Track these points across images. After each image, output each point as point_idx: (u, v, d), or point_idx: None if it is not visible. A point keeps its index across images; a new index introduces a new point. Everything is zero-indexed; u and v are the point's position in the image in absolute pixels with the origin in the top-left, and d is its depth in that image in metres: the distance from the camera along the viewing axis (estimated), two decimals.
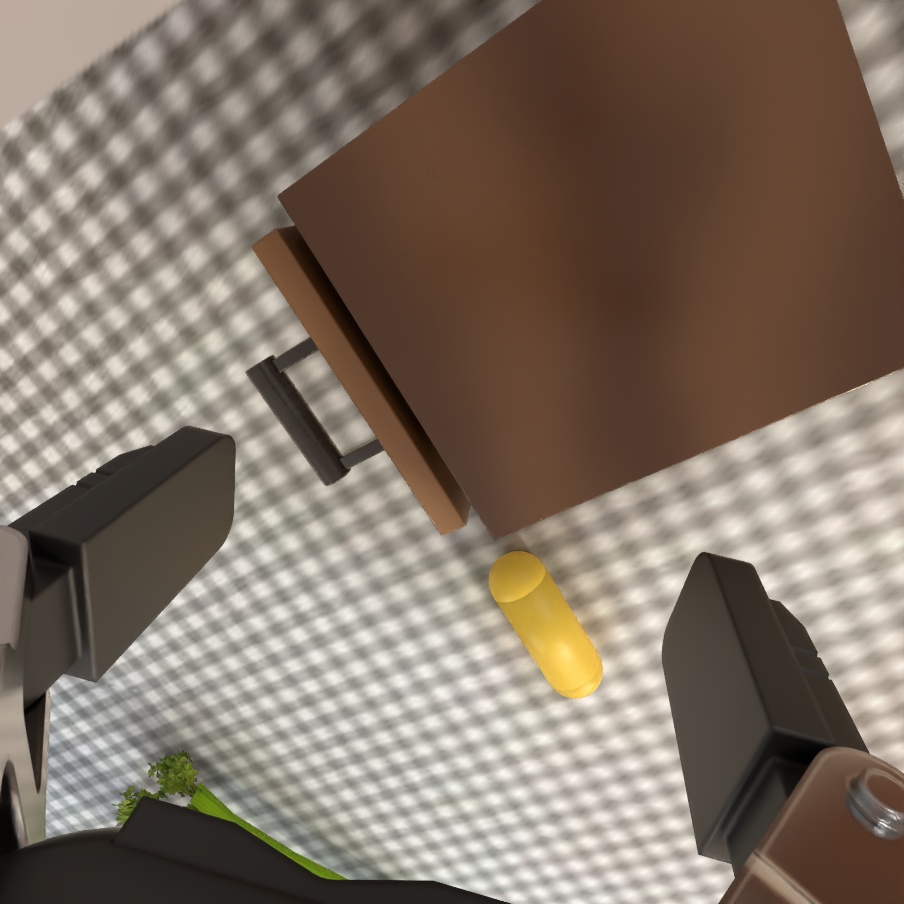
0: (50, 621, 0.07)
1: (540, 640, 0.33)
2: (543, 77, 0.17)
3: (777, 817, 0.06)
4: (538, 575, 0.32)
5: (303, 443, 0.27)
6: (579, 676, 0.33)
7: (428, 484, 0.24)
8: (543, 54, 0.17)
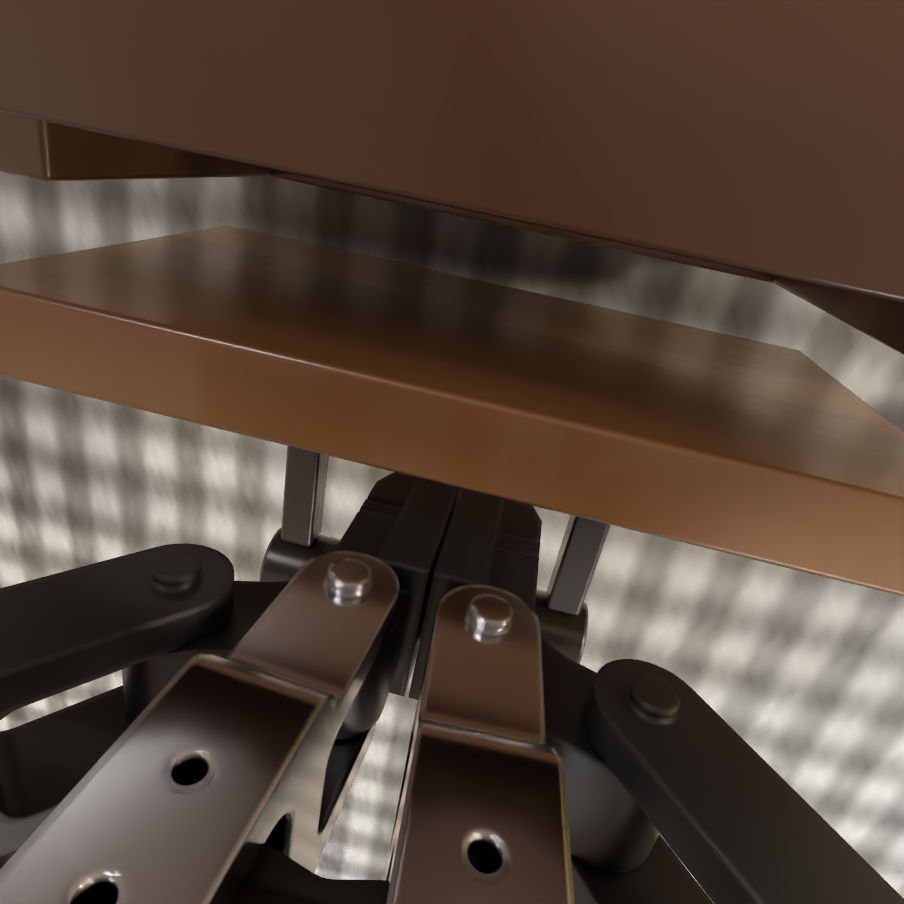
0: (397, 642, 0.08)
1: None
2: None
3: (426, 675, 0.06)
4: None
5: None
6: None
7: (804, 510, 0.07)
8: None
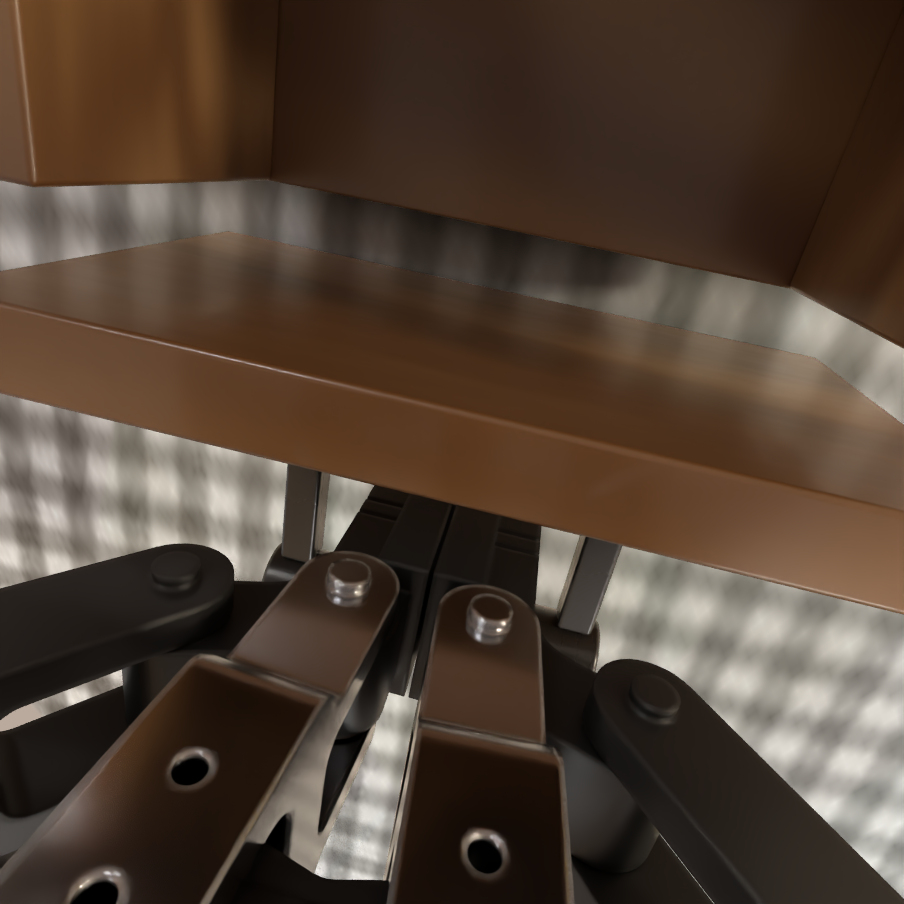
0: (397, 642, 0.08)
1: None
2: None
3: (426, 675, 0.06)
4: None
5: None
6: None
7: (836, 533, 0.07)
8: None
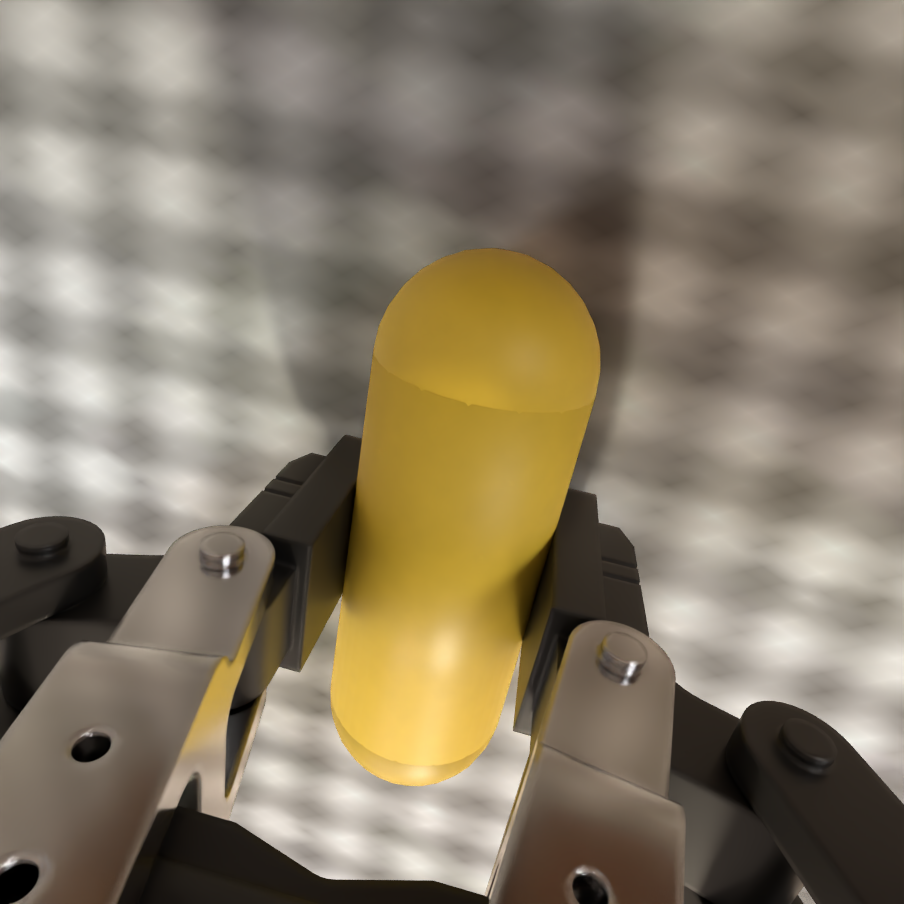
0: (281, 615, 0.08)
1: (444, 591, 0.09)
2: None
3: (550, 701, 0.06)
4: (596, 377, 0.08)
5: None
6: (456, 738, 0.10)
7: None
8: None
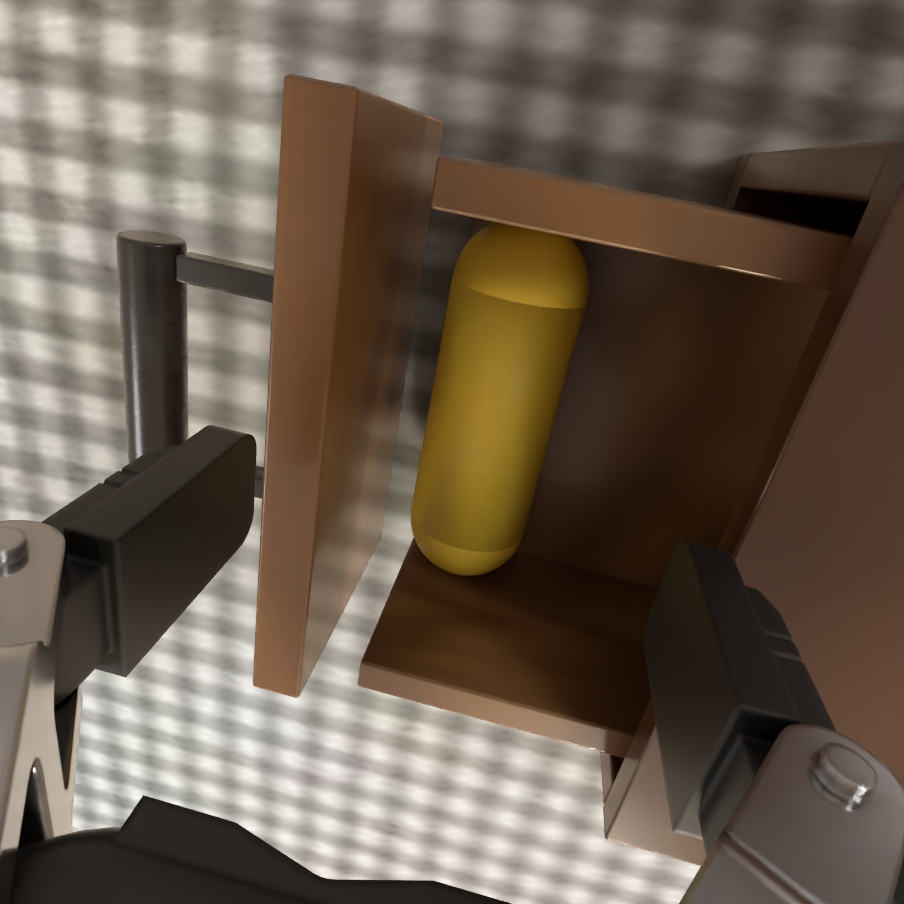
0: (84, 616, 0.07)
1: (493, 423, 0.14)
2: None
3: (744, 796, 0.06)
4: (585, 292, 0.14)
5: (137, 405, 0.15)
6: (497, 532, 0.16)
7: (288, 624, 0.14)
8: None
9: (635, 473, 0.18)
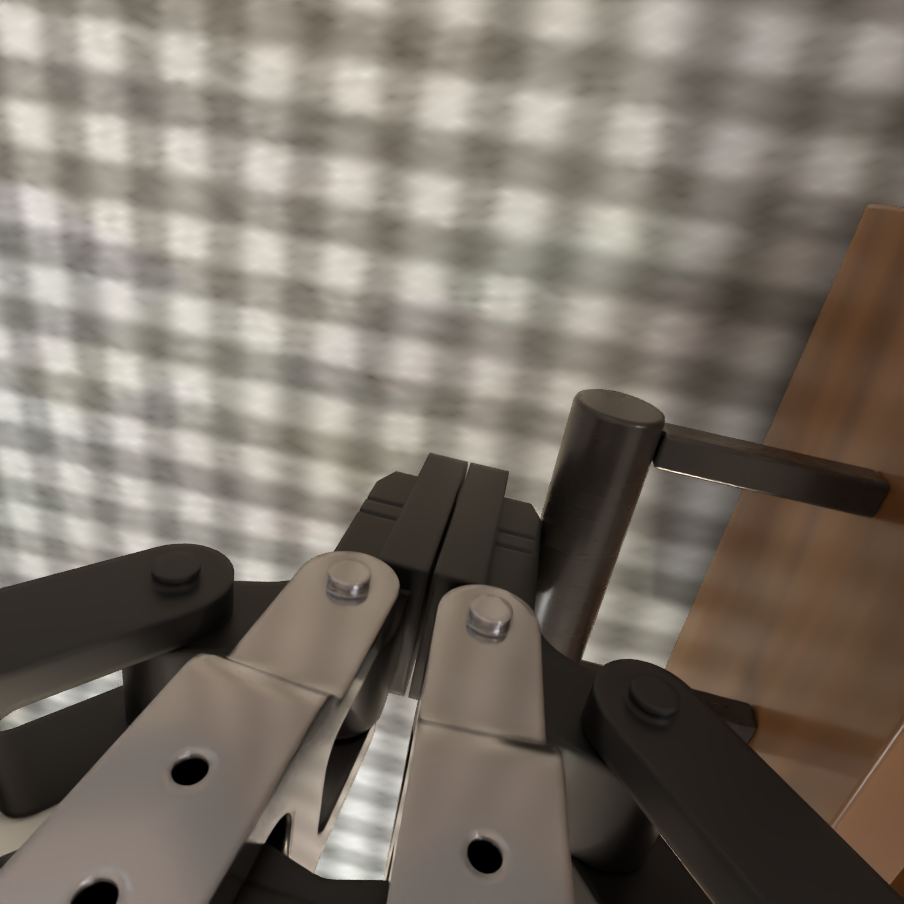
0: (397, 642, 0.08)
1: None
2: None
3: (426, 675, 0.06)
4: None
5: (554, 624, 0.11)
6: None
7: None
8: None
9: None
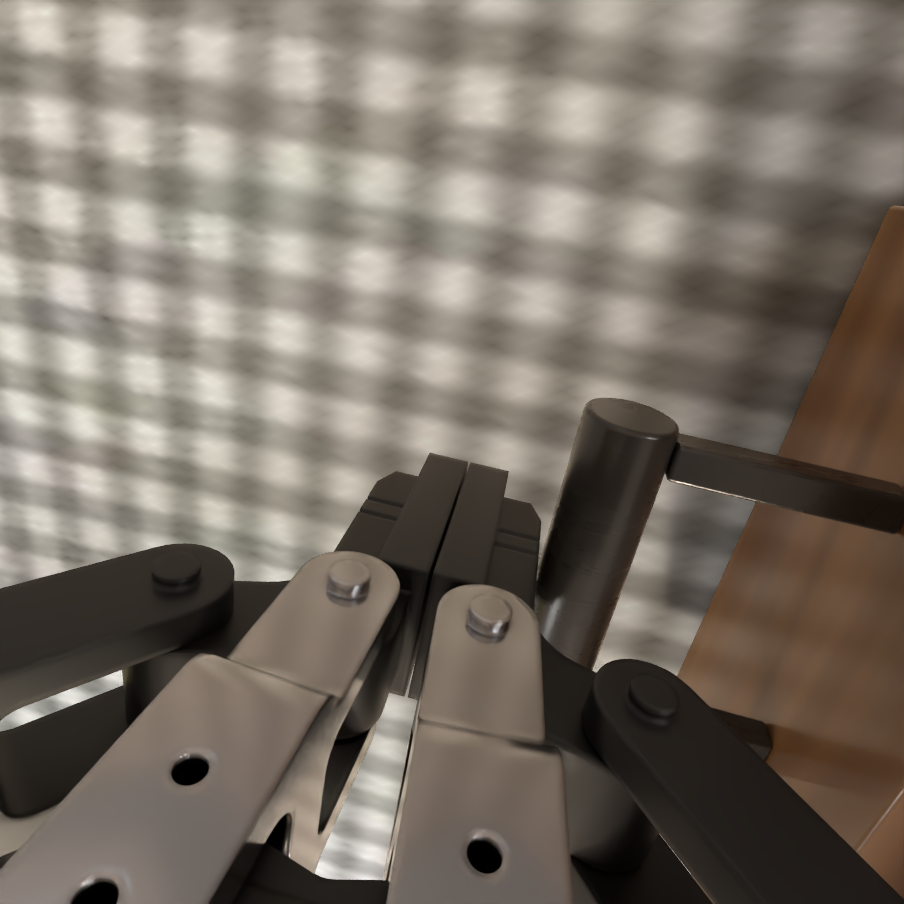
0: (398, 642, 0.08)
1: None
2: None
3: (426, 675, 0.06)
4: None
5: (563, 639, 0.10)
6: None
7: None
8: None
9: None
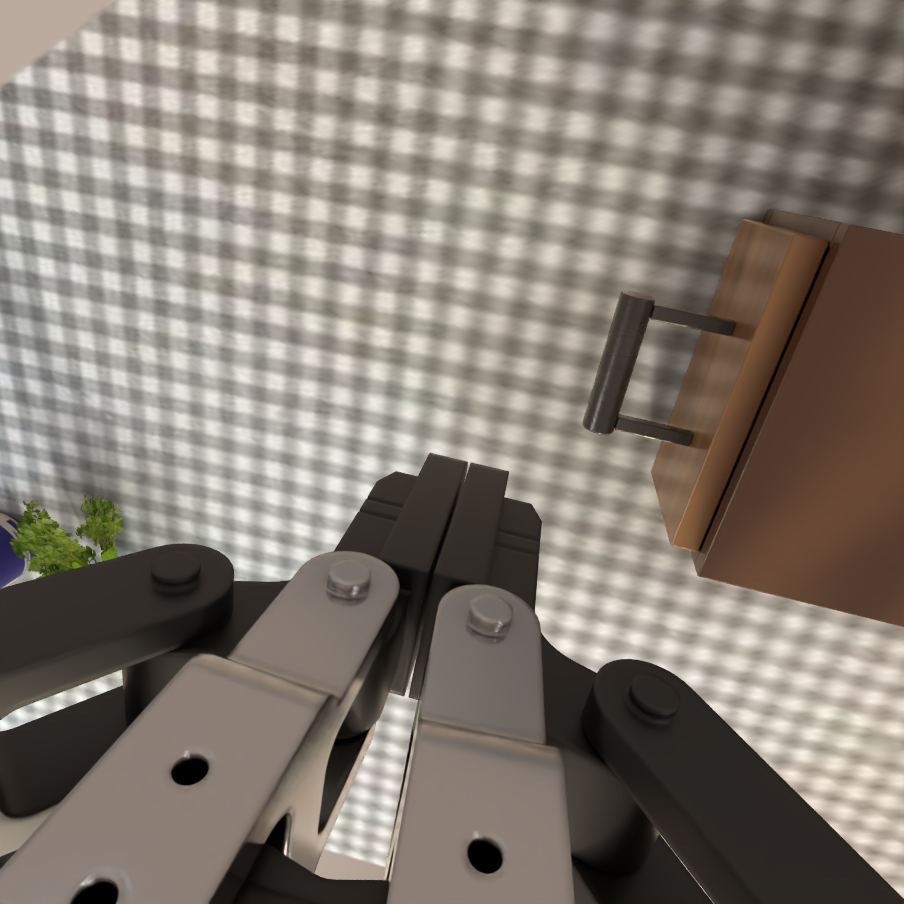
0: (397, 641, 0.08)
1: None
2: None
3: (427, 675, 0.06)
4: None
5: (611, 387, 0.26)
6: None
7: (707, 506, 0.26)
8: None
9: None
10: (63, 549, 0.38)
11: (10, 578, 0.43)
